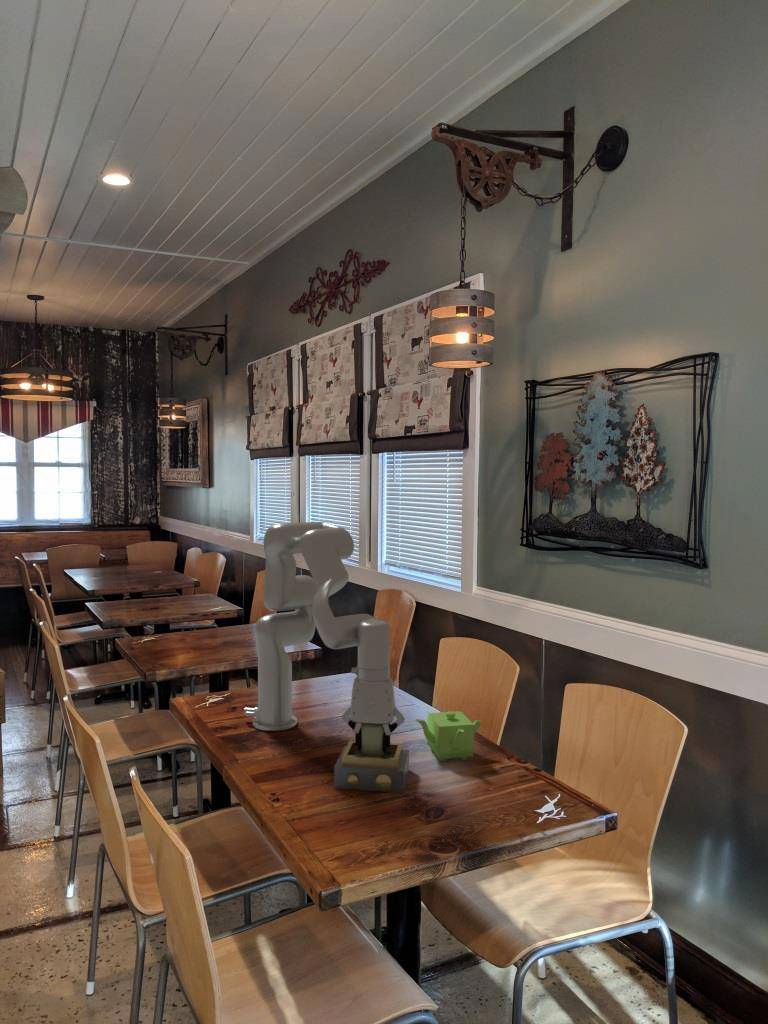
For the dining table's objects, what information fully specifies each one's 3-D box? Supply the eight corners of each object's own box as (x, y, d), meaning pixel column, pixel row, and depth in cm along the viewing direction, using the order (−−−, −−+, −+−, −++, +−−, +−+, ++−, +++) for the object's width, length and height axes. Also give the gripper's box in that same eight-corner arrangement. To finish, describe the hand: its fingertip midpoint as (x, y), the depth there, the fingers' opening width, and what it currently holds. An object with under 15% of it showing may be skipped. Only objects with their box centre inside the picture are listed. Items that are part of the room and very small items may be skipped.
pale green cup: (359, 756, 175) (359, 725, 175) (364, 744, 183) (364, 714, 182) (382, 757, 175) (383, 726, 174) (386, 746, 182) (387, 716, 181)
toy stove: (333, 790, 171) (333, 760, 171) (344, 765, 185) (344, 738, 185) (402, 795, 169) (403, 764, 169) (409, 770, 183) (409, 741, 183)
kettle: (462, 771, 183) (463, 726, 182) (411, 759, 190) (411, 716, 189) (487, 751, 196) (487, 709, 195) (438, 741, 203) (438, 700, 202)
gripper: (334, 676, 174) (333, 752, 175) (408, 679, 172) (407, 757, 173) (340, 667, 181) (340, 741, 182) (411, 670, 179) (410, 745, 180)
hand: (372, 748), depth 178 cm, fingers closed on pale green cup, 5 cm apart
